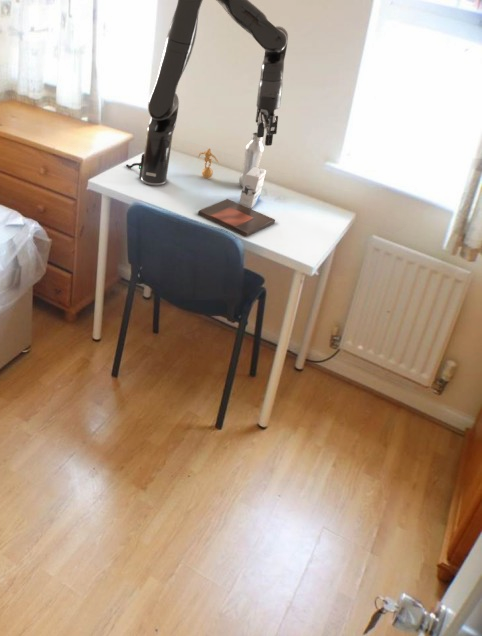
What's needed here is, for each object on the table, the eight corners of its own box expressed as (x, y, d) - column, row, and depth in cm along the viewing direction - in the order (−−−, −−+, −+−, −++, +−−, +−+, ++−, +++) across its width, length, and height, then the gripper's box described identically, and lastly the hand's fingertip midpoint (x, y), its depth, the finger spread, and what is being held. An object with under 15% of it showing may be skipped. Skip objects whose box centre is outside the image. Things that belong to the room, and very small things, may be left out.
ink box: (246, 196, 257) (253, 166, 250) (260, 200, 255) (267, 169, 248) (238, 205, 250) (244, 173, 244) (252, 209, 248) (259, 177, 242)
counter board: (197, 214, 243) (198, 210, 242) (226, 202, 252) (227, 198, 251) (245, 237, 231) (247, 232, 230) (274, 223, 240) (275, 219, 239)
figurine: (218, 179, 269) (224, 148, 262) (211, 184, 265) (217, 153, 258) (198, 173, 272) (203, 142, 266) (191, 178, 268) (196, 147, 262)
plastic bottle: (256, 191, 261) (268, 138, 250) (237, 189, 262) (248, 136, 251) (256, 184, 266) (267, 132, 255) (237, 182, 267) (248, 130, 256)
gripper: (251, 87, 239) (246, 135, 248) (265, 99, 227) (259, 148, 236) (273, 86, 240) (268, 133, 248) (288, 97, 228) (282, 147, 236)
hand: (264, 141), depth 242 cm, fingers open, 8 cm apart
